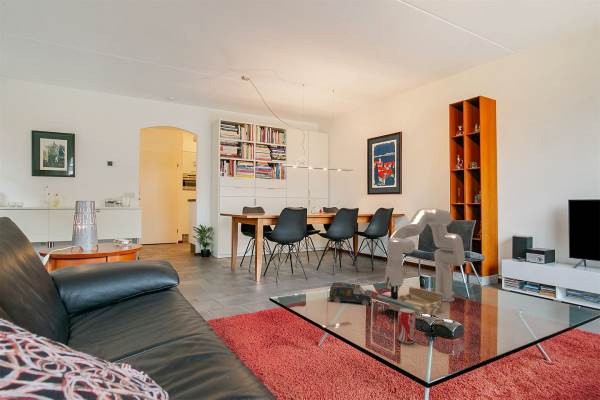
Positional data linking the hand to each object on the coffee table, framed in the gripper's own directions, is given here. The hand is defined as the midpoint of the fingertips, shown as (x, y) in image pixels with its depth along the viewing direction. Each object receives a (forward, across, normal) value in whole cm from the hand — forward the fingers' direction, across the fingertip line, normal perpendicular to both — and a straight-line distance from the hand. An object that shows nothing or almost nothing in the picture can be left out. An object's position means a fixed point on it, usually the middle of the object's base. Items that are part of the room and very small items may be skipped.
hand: (394, 298), depth 171 cm
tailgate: (+6, -9, 0) cm, 10 cm away
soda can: (+9, +22, +23) cm, 33 cm away
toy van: (+9, -1, -32) cm, 33 cm away
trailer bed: (+9, -19, 0) cm, 21 cm away
